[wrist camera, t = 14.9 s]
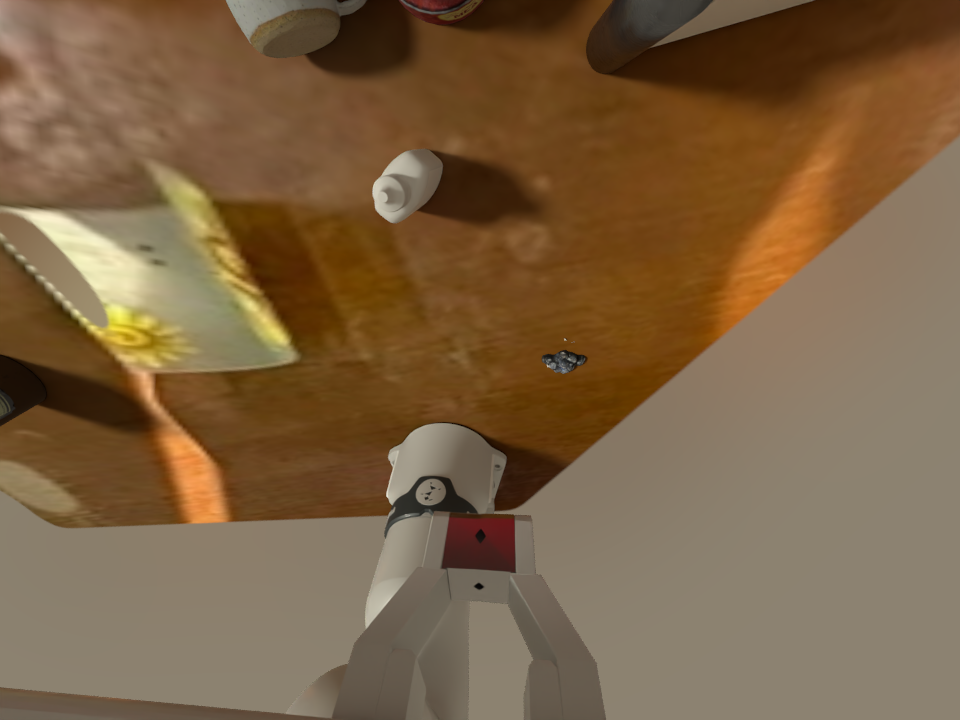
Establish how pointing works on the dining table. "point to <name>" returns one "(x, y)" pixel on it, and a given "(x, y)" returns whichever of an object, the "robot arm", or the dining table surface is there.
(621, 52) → the hinge post
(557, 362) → the blueberries
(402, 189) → the eye dropper bottle
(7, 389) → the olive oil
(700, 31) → the cream flat block
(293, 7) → the ceramic mug
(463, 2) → the canned food
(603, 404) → the dining table surface
